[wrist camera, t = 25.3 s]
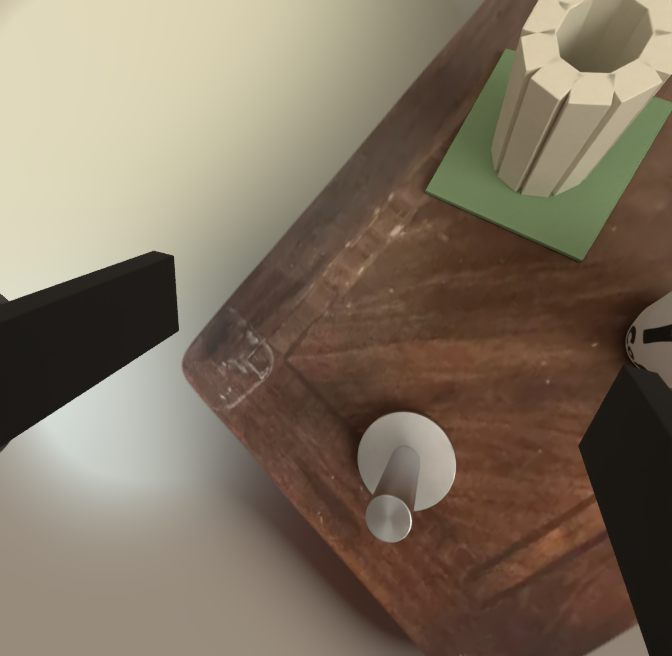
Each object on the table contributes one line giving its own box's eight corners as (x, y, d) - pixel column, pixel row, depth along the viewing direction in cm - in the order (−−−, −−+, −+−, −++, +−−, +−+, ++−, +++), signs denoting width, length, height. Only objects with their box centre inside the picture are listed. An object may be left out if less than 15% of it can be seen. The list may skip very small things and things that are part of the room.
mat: (425, 193, 35) (424, 190, 35) (504, 53, 35) (506, 47, 34) (579, 262, 32) (582, 260, 31) (671, 108, 31) (675, 103, 31)
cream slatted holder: (473, 175, 34) (494, 77, 22) (522, 89, 34) (569, -55, 22) (565, 213, 32) (640, 127, 20) (618, 123, 32) (724, -17, 20)
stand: (344, 469, 35) (287, 536, 21) (389, 391, 35) (360, 409, 21) (424, 525, 33) (418, 636, 19) (473, 443, 33) (501, 498, 19)
